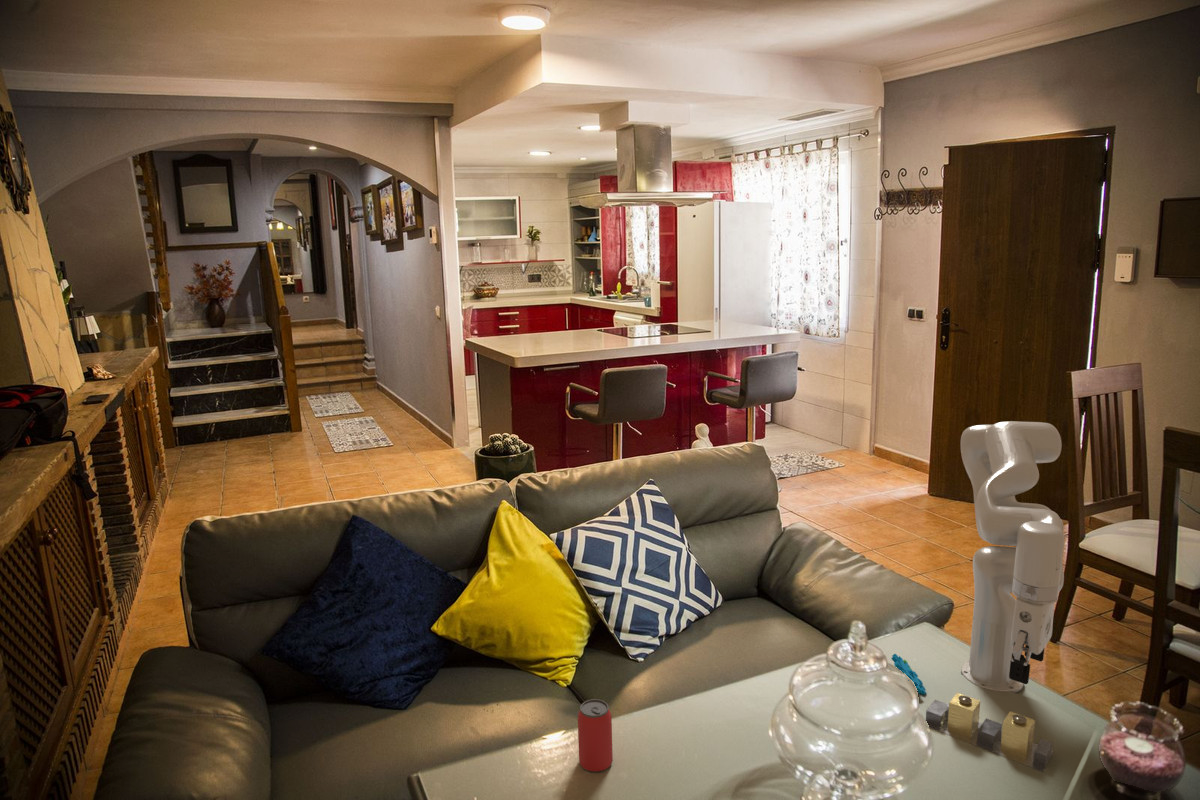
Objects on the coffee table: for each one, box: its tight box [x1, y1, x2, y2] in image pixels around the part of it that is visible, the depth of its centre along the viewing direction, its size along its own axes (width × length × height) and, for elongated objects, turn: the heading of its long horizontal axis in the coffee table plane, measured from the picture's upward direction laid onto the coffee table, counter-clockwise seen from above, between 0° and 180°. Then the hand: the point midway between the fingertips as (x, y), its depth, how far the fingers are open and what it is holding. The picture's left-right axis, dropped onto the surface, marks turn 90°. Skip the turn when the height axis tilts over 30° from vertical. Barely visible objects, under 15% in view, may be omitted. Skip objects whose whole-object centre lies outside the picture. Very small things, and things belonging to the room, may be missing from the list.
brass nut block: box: [1001, 711, 1036, 759], centre depth 151 cm, size 4×4×7 cm
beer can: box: [577, 698, 614, 773], centre depth 151 cm, size 7×7×12 cm
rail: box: [925, 699, 1054, 773], centre depth 155 cm, size 8×22×4 cm, turn 48°
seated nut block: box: [947, 692, 981, 738], centre depth 157 cm, size 4×4×7 cm
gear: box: [891, 653, 927, 696], centre depth 174 cm, size 11×6×10 cm
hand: (1026, 669), depth 149 cm, fingers open, 9 cm apart
